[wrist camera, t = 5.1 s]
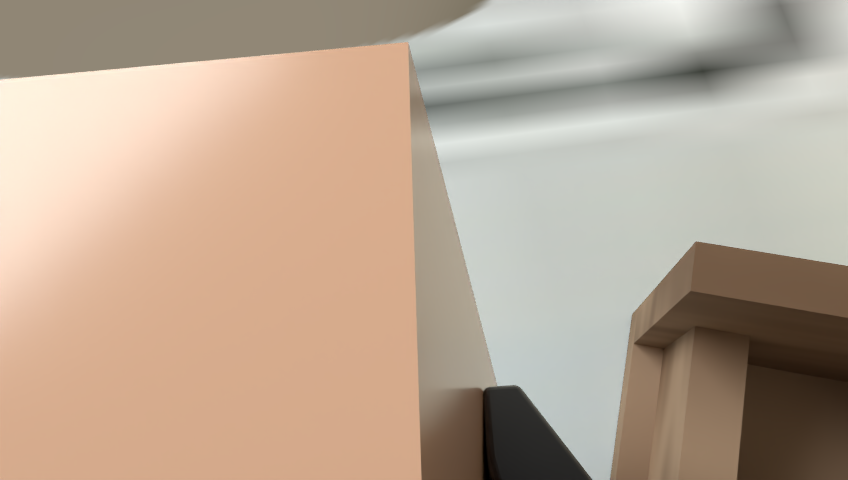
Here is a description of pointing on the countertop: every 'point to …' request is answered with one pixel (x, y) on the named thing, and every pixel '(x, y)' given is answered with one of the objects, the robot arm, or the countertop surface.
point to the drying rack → (737, 371)
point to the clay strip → (234, 276)
